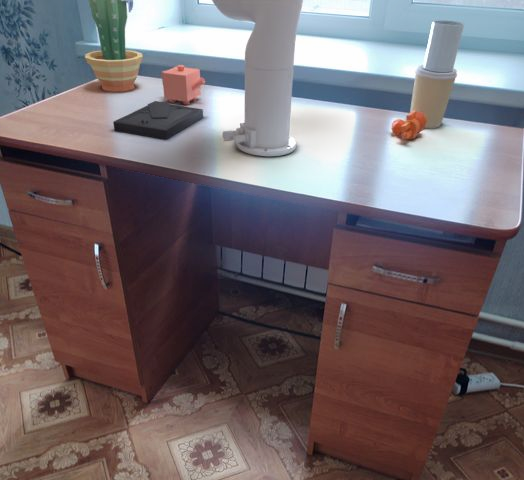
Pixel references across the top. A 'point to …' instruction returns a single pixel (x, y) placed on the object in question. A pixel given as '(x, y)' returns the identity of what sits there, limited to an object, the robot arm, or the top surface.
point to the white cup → (443, 45)
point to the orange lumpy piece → (410, 125)
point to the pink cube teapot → (182, 84)
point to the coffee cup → (432, 94)
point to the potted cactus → (113, 46)
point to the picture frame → (158, 120)
